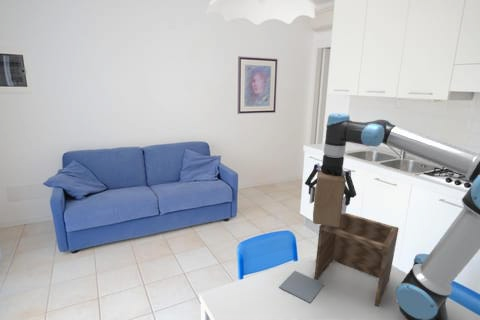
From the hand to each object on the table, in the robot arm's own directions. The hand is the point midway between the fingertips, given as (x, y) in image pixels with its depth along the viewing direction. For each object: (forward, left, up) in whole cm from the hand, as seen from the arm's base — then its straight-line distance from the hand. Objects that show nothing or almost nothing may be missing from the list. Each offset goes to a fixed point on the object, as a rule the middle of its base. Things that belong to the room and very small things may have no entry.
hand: (327, 207), depth 115 cm
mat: (+5, +7, -35) cm, 36 cm away
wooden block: (0, 0, -6) cm, 6 cm away
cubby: (-10, -11, -35) cm, 38 cm away
